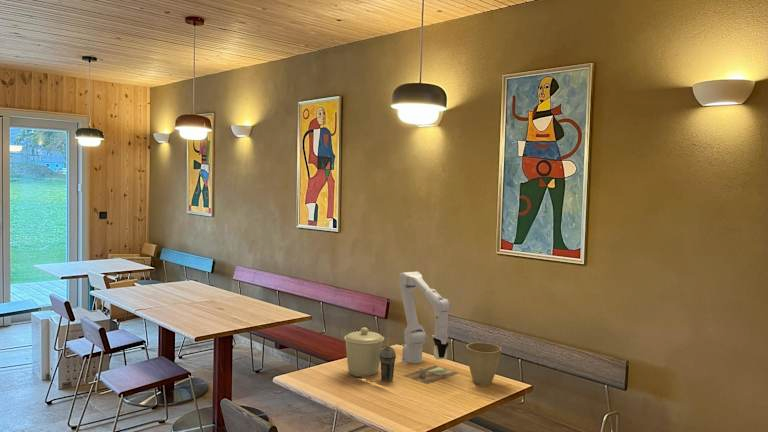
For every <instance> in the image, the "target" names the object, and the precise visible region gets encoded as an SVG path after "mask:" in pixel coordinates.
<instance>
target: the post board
mask: <svg viewBox="0 0 768 432" xmlns="http://www.w3.org/2000/svg"><path fill="white" fill-rule="evenodd" d="M458 374H459V372H457V371H453V370H450V369H447V368H443V367H440V366H437V365H433V366H430V367H427V368H419V370H417V371H414V372H411V373H408V374H405V375H403V377H405V378H408V379H411V380H413V381H416V382H419V383H422V384H426V385H429V384H432V383H435V382H438V381H441V380H444V379H446V378H448V377H449V378H450V377H452V376H455V375H458Z"/></svg>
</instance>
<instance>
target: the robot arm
mask: <svg viewBox="0 0 768 432" xmlns="http://www.w3.org/2000/svg"><path fill="white" fill-rule="evenodd" d="M397 280H398V286H399V288H400V289H399V290H400V294H401V297H402V298H401V300H402V304H403V310H404V315H405V319H406V323H407V325H406V327H405V329H404V330H403V335H404V336H403V340H404V343H405V344H403V346H402V352H401V353H402V354H401V356H402V357H401V361H400V363H409V364H421V363H422V362H423V346H424V345H425V343H426V342H427V334H426V332H425V330H424V327H423V326H422V325H421V324H420V323H419V319H418V315H417V314H418V313H417V310H416V309H417V308H416V305H415V300H414V294H413V292H414V290H416V288H418V289H419V290H420V291H421V292H422V293H424V298H425V300H427V301H428V303H430V305H432V310H433V314H434V334H432V335H431V337H432V339H433V343H434V345H437V347H438V354H439V358H444V355H445V351H446V348H447V349H448V346H449V341H448V342H447V340H448V337H449V336H448V327H449V326H448V325H449V323H448V319H449V312H450V310H451V308H452V304H451V302H450V300H449V299H448V298H444V297H443V296H441V294H439V292H438V291H437V290H436V289H434V288H430V286H429V285H428V284H427V282H425V280H424V279H423V275H422V274H421V273H420V272H419V271H417V270H416V271H407V272H405V271H403V272H400V274H399V277H398V278H397Z"/></svg>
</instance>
